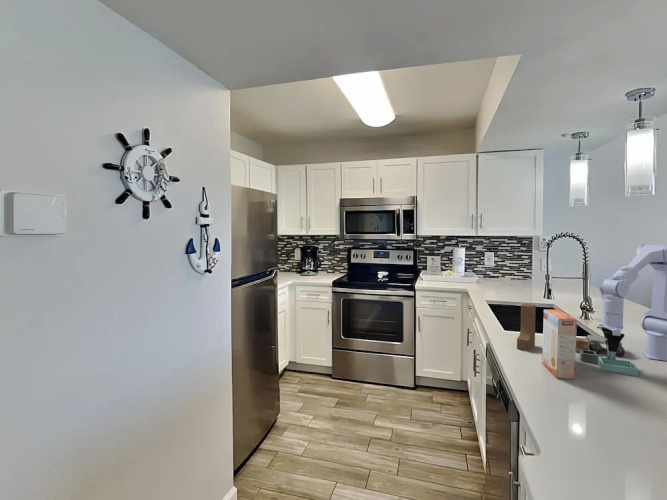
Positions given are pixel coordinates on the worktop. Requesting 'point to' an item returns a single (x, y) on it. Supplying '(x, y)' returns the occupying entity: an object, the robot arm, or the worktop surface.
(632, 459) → the worktop surface
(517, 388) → the worktop surface
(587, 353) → the bracket
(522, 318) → the wooden block
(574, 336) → the cracker box
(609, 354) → the pin
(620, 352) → the trolley
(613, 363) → the tray
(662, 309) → the robot arm
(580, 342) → the block
